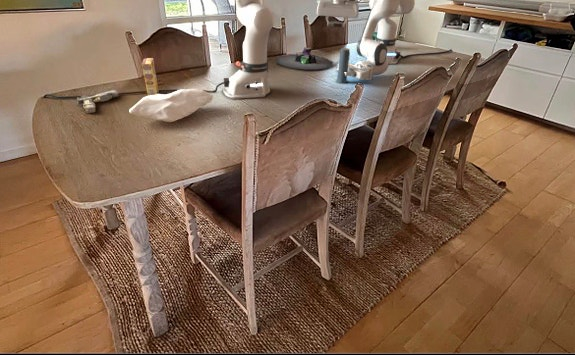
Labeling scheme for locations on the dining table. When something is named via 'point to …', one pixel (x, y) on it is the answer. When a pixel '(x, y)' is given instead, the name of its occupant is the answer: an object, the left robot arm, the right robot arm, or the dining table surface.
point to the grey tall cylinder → (343, 65)
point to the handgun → (95, 100)
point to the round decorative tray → (304, 61)
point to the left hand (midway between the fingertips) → (335, 26)
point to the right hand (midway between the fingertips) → (341, 72)
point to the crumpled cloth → (171, 104)
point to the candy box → (150, 76)
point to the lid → (336, 24)
